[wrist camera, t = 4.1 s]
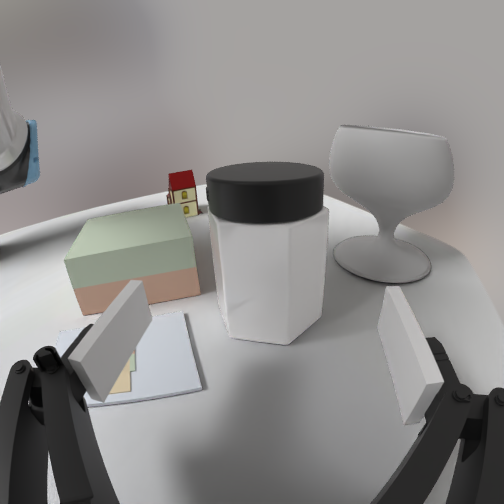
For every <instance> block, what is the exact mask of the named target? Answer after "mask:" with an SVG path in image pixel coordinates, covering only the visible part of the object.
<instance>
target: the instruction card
mask: <svg viewBox="0 0 504 504" xmlns="http://www.w3.org/2000/svg"><path fill="white" fill-rule="evenodd" d="M152 319H153V320H152V322H151V323H150V325H149V326H148V328H147V330H146V331H145V333H144V335H143V336H142V338H141V340H140V341H139V343H138V345H137V346H136V348H135V350H134V351H133V353H132V355H131V356H130V358H129V360H128V362H127V363H126V365H125V367H124V368H123V370H122V372H121V374H120V375H119V377H118V379H117V381H116V382H115V384H114V386H113V388H112V389H111V391H110V393H109V395H108V396H107V398H106V400H105V402H104V403H103V402H99V401H96V400H93V399H91V398H90V396H89V394H88V393H87V391H86V393H85V395H84V398H85V400H86V403H87V407H94V406H104V405H113V404H122V403H130V402H137V401H144V400H151V399H157V398H163V397H169V396H174V395H180V394H185V393H190V392H195V391H200V390H202V386H201V382H200V379H199V375H198V371H197V367H196V363H195V360H194V356H193V352H192V348H191V343H190V339H189V335H188V331H187V327H186V322H185V318H184V313H183V311H179V312H173V313H168V314H163V315H157V316H152ZM85 328H86V327H85ZM83 329H84V328H78V329H72V330H65V331H60V333H59V336H58V339H57V343H56V346H55V348H56V350H57V352H58V354H59V356H60V358H61V356H62V355H63V354H64V353H65V351H66V350H67V349H68V347H69V346H70V345H71V344H72V342H74V340H75V339H76V337H78V335H79V334H80V332H81V331H82V330H83Z"/></svg>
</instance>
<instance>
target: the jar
mask: <svg viewBox="0 0 504 504" xmlns="http://www.w3.org/2000/svg"><path fill="white" fill-rule="evenodd" d="M206 182H207V187H206V195H207V200H208V204H209V205H208V218H209V227H210V237H211V246H212V255H213V264H214V273H215V281H216V289H217V297H218V305H219V308H220V311H221V314H222V317H223V320H224V323H225V326H226V329H227V332H228V335H229V337H230V338H234V339H241V340H249V341H256V342H264V343H272V344H281V345H288V344H290V343H291V342H292V341H293V340H294V339H296V338H297V337H298V336H299V335H300V334H302V333H303V332H304V331H305V330H306V329H307V328H309V327H310V326H311V325H312V324H313V323H314V322H315V321H317V320H318V319H319V318H320V317H321V315H322V305H323V295H324V284H325V271H326V258H327V243H328V225H329V209H328V208H326V207H324V206H323V189H324V188H323V187H324V173H323V171H322V170H321V169H319V168H317V167H315V166H311V165H306V164H300V163H290V162H255V163H243V164H235V165H230V166H225V167H221V168H218V169H214V170H212V171H210V172H209V173H208V174H207V176H206Z"/></svg>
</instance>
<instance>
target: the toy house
mask: <svg viewBox="0 0 504 504" xmlns="http://www.w3.org/2000/svg"><path fill="white" fill-rule="evenodd" d="M168 191H169V194H168V195H166V196H167V203H168V205H169V204H175V203H180V204H181V207H182V210H183V213H184V215H185V218H186V217H190V216H195V215H199V214H200V213H202V212H201V210H200V209H199V210H200V211H199V210H198V202H197V193H196V185H195V180H194V176H193V172H192V170H188V171H182V172H176V173H171V174H169V188H168ZM202 214H203V213H202Z"/></svg>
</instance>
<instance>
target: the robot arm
mask: <svg viewBox="0 0 504 504" xmlns="http://www.w3.org/2000/svg"><path fill="white" fill-rule="evenodd" d="M38 158H39V157H38V141H37V123H36V121H35V120H27V121H25V119H24V117H23V116H22V115H21V114H19V113H18V112H16V111H13V109H12V106H11V103H10V99H9V96H8V92H7V89H6V85H5V81H4V77H3V73H2V69H1V64H0V194H2V193H5V192H8V191H11V190H14V189H17V188H20V187H25V186H26V185H28V184H31V183H33V182H36V181H37V180H38V178H39V176H40V168H39V159H38ZM152 320H153V319H152V316H151V312H150V308H149V305H148V301H147V297H146V293H145V289H144V285H143V281H141V280H130V282H129V283H128V284H127V285H126V286H125V287H124V289H123V290H122V291H121V292H120V293H119V295H118V296H117V297H116V298H115V299H114V300H113V302H112V303H111V304H110V305H109V306H108V308H107V309H106V310H105V311H104V313H103V314H102V315H101V316H100V317H99V319H98V320H97V321H96V322H95V324H90V325H88V326H87V327H86V328H84V329H83V330H82V331H81V332H80V334H79V335H78V337H76V339H75V340H74V342H72V344H71V345H70V346H69V347H68V349H67V350H66V351H65V353H64V354H63V355H62V356H61V358H60V356H59V354H58V352H57V350H56V348H54V347H53V346H45V347H43V348H41V349H39V350H38V351H37V352H36V353H35V354H34V357H33V360H34V362H35V363H36V365H37V367H38V368H32V366H31V364H30V363H29V361H27V360H20V361H18V362H16V363H15V364H14V365H13V366H12V367H11V369H10V372H9V375H8V379H7V382H6V385H5V388H4V392H3V395H2V399H1V402H0V504H48V503H47V471H48V450H49V455H50V460H51V465H52V470H53V475H54V479H55V483H56V487H57V491H58V495H59V499H60V504H120V503H119V501H118V499H117V496H116V494H115V491H114V489H113V486H112V484H111V481H110V479H109V476H108V473H107V471H106V468H105V465H104V462H103V459H102V456H101V453H100V450H99V447H98V444H97V440H96V437H95V434H94V430H93V427H92V423H91V419H90V415H89V411H88V407H87V403H86V400H85V398H84V395H85V393H86V391H87V393H88V394H89V396H90V398H91V399H93V400H96V401H99V402H103V403H104V402H105V400H106V398H107V396H108V395H109V393H110V391H111V389H112V388H113V386H114V384H115V382H116V381H117V379H118V377H119V375H120V374H121V372H122V370H123V368H124V367H125V365H126V363H127V362H128V360H129V358H130V356H131V355H132V353H133V351H134V350H135V348H136V346H137V345H138V343H139V341H140V340H141V338H142V336H143V335H144V333H145V331H146V330H147V328H148V326H149V325H150V323H151V322H152ZM377 329H378V333H379V336H380V339H381V342H382V346H383V349H384V352H385V356H386V359H387V363H388V366H389V370H390V373H391V377H392V381H393V384H394V388H395V392H396V396H397V400H398V404H399V408H400V412H401V416H402V421H403V425H409V424H415V423H420V421H421V420H422V418H423V416H424V415H425V419H426V424H425V425H424V427H423V428H422V430H421V431H420V432H419V434H418V435H419V436H418V437H417V439H416V440H415V442H414V444H413V445H412V447H411V449H410V450H409V452H408V453H407V455H406V456H405V458H404V459H403V461H402V462H401V464H400V465H399V467H398V468H397V470H396V471H395V472H394V474H393V475H392V477H391V478H390V479H389V481H388V482H387V483H386V485H385V486H384V487H383V489H382V490H381V491H380V492H379V494H378V495H377V496H376V497H375V499H374V500H373V501H372V502H371V504H423V503H424V501H425V500H426V498H427V497H428V495H429V493H430V492H431V490H432V488H433V487H434V485H435V483H436V482H437V480H438V478H439V476H440V474H441V473H442V471H443V469H444V467H445V465H446V463H447V461H448V459H449V457H450V455H451V453H452V451H453V449H454V447H455V445H456V443H457V440H458V439H461V442H460V448H459V453H458V458H457V462H456V467H455V471H454V475H453V479H452V483H451V487H450V490H449V494H448V497H447V501H446V504H504V389H503V388H495V389H493V390H492V391H491V392H490V394H489V395H478V394H473V392H472V391H471V389H470V388H469V387H467V386H466V385H464V384H460V382H459V380H458V378H457V375H456V373H455V371H454V369H453V366H452V364H451V362H450V360H449V358H448V356H447V354H446V352H445V350H444V347H443V345H442V344H441V343H440V342H439V341H438V340H437V339H436V338H435V337H431V338H425V336H424V334H423V332H422V330H421V328H420V326H419V324H418V322H417V319H416V317H415V315H414V313H413V311H412V309H411V307H410V305H409V303H408V301H407V300H406V298H405V296H404V294H403V292H402V290H401V288H400V286H386V290H385V295H384V299H383V304H382V309H381V313H380V317H379V321H378V325H377ZM28 401H29V405H28Z"/></svg>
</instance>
